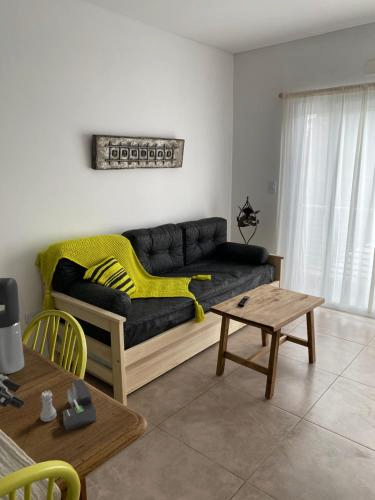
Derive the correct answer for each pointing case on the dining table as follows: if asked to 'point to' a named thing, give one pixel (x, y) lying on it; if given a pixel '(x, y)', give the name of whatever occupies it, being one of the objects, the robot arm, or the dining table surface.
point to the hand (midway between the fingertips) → (19, 396)
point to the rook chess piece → (47, 407)
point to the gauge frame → (84, 401)
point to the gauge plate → (72, 399)
